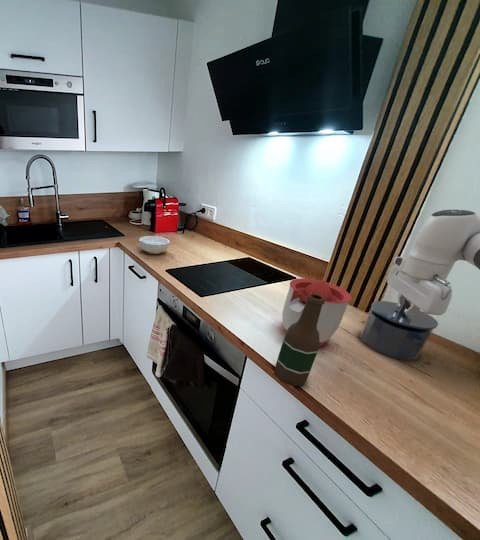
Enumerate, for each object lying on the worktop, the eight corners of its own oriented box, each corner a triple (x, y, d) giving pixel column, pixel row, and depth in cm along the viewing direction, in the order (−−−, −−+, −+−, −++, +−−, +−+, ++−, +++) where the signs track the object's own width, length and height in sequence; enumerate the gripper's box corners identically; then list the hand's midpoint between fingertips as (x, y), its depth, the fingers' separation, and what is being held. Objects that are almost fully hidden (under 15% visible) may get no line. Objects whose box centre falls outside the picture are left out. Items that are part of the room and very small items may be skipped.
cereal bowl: (174, 251, 162) (175, 240, 160) (157, 259, 151) (158, 246, 148) (150, 245, 173) (150, 233, 170) (132, 251, 161) (133, 239, 158)
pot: (396, 332, 95) (408, 307, 92) (435, 371, 79) (452, 343, 75) (349, 324, 99) (359, 300, 95) (377, 360, 82) (390, 332, 78)
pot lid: (416, 309, 89) (423, 294, 87) (450, 335, 76) (460, 319, 74) (361, 301, 93) (367, 286, 91) (385, 325, 80) (392, 309, 78)
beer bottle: (311, 379, 74) (343, 299, 65) (296, 392, 70) (328, 308, 61) (282, 362, 80) (306, 286, 71) (266, 373, 76) (291, 293, 66)
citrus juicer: (262, 329, 95) (277, 274, 87) (296, 318, 101) (313, 266, 93) (306, 358, 82) (329, 297, 74) (343, 344, 88) (367, 287, 80)
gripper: (470, 286, 68) (442, 334, 74) (416, 258, 86) (397, 297, 92) (437, 282, 70) (412, 329, 75) (391, 255, 88) (374, 294, 93)
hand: (404, 311), depth 84 cm, fingers closed on pot lid, 2 cm apart
